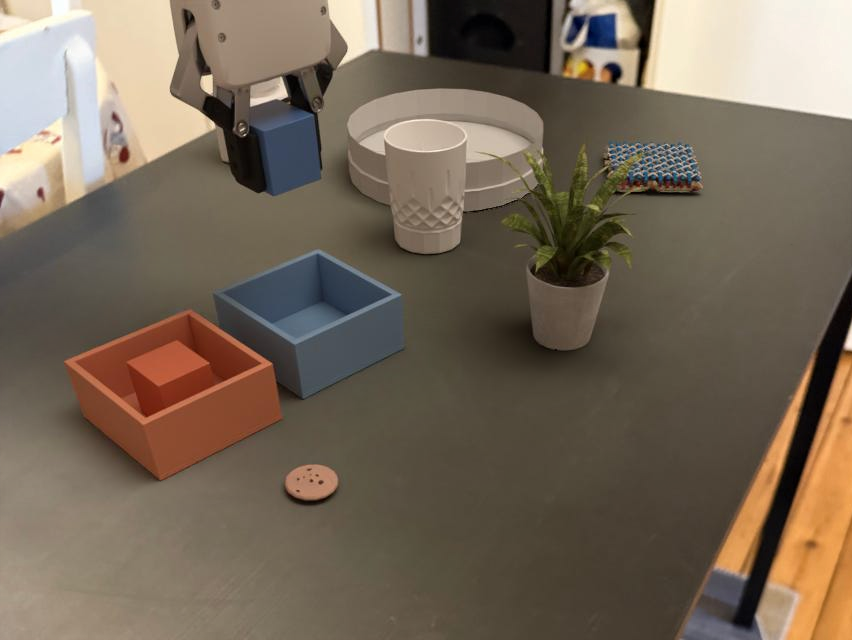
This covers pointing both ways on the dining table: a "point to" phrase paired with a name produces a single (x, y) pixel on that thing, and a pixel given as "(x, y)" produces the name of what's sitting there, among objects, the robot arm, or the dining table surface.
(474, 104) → the dish
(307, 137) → the blue block
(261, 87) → the medicine bottle
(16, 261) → the dining table surface
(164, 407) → the terracotta block
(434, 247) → the white cup
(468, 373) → the dining table surface
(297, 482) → the cookie
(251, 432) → the terracotta bin
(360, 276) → the blue bin
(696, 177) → the woven mat
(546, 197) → the house plant
